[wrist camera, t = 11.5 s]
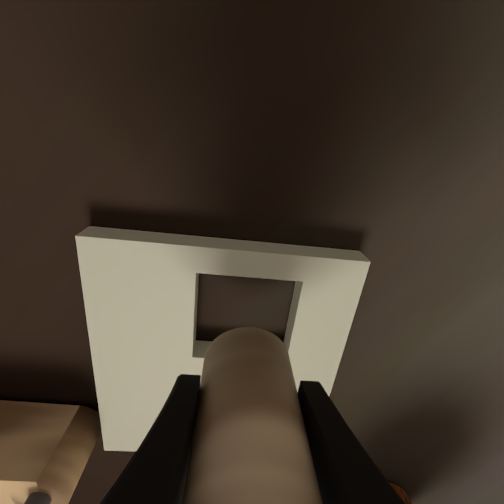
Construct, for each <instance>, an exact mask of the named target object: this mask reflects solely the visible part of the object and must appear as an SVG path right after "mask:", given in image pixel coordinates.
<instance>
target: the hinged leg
mask: <svg viewBox="0 0 504 504" xmlns="http://www.w3.org/2000/svg"><path fill="white" fill-rule="evenodd" d="M100 433H101V422H100V415H99V413H98V412H97V411H95V410H94V409H92V408H89V407H86V406H78V405H63V404H49V403H34V402H20V401H6V400H0V504H68V503H69V501H70V499H71V497H72V494H73V492H74V490H75V488H76V486H77V483H78V481H79V479H80V477H81V474H82V472H83V470H84V468H85V466H86V463H87V461H88V459H89V457H90V455H91V452H92V450H93V448H94V446H95V444H96V441H97V439H98V437H99V435H100Z"/></svg>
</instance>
